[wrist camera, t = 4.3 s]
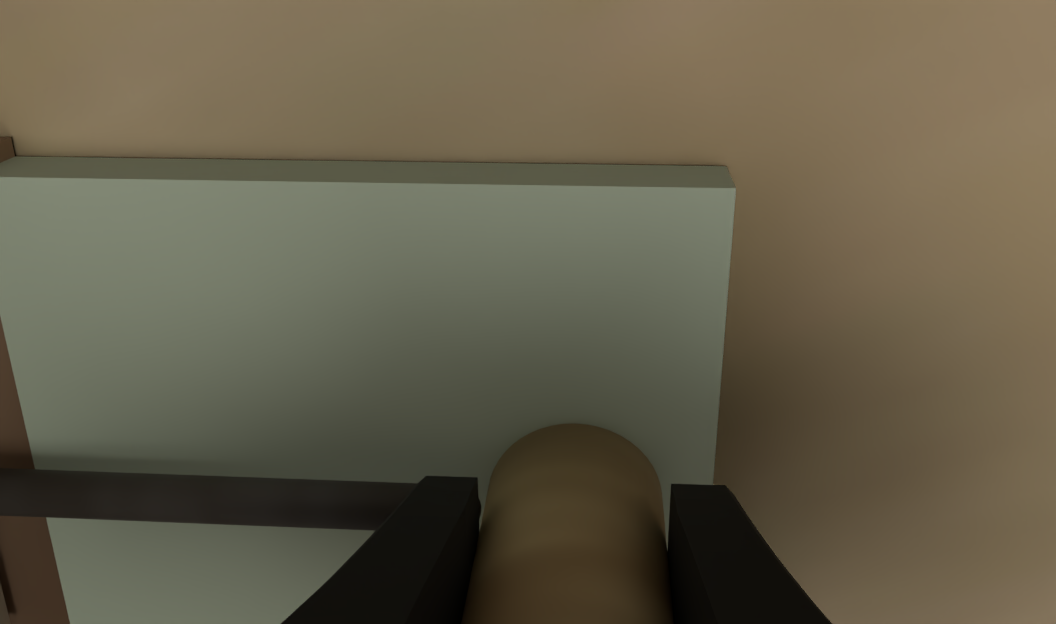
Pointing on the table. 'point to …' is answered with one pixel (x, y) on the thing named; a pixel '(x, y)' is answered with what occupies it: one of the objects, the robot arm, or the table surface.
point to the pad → (342, 341)
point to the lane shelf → (15, 541)
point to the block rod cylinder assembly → (509, 514)
